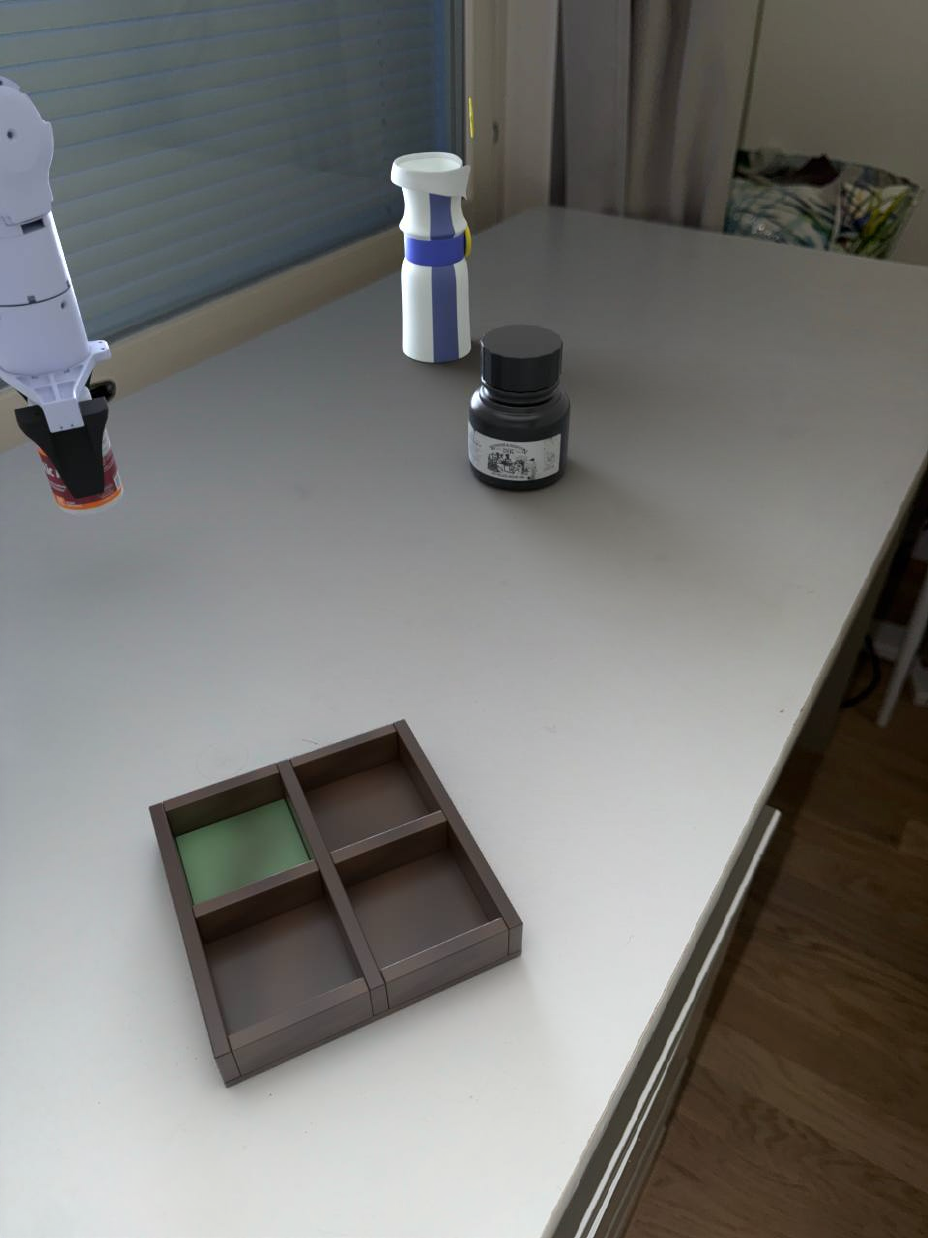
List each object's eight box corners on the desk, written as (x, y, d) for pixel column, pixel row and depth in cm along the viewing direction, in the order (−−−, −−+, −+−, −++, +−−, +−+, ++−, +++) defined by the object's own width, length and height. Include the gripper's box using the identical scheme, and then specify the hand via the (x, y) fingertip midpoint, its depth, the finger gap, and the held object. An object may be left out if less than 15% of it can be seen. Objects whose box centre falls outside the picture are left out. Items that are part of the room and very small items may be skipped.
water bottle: (460, 327, 108) (457, 84, 92) (484, 356, 102) (485, 102, 86) (392, 336, 106) (377, 90, 90) (412, 367, 100) (400, 109, 84)
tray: (226, 1089, 42) (214, 1059, 40) (160, 839, 53) (147, 806, 51) (521, 955, 47) (523, 923, 45) (406, 750, 58) (404, 717, 56)
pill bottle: (43, 509, 67) (5, 404, 61) (86, 477, 70) (54, 374, 65) (96, 523, 66) (62, 416, 60) (138, 489, 69) (109, 385, 63)
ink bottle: (450, 481, 82) (447, 354, 74) (483, 435, 88) (483, 313, 81) (556, 501, 79) (564, 371, 72) (581, 451, 86) (592, 327, 78)
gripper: (108, 318, 54) (159, 512, 63) (74, 245, 64) (123, 421, 73) (-21, 341, 52) (51, 539, 61) (-35, 261, 62) (29, 440, 71)
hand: (83, 476), depth 67 cm, fingers closed on pill bottle, 5 cm apart
